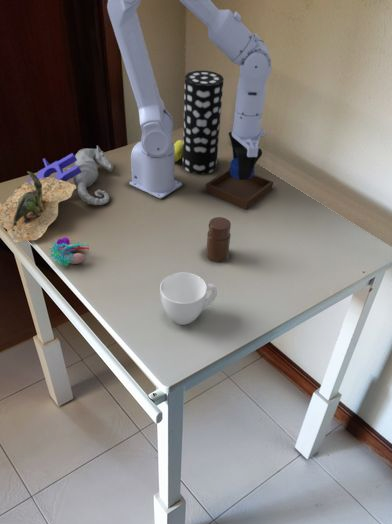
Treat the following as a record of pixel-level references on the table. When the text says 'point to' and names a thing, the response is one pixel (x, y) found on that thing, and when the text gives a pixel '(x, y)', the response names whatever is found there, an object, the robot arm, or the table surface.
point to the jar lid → (235, 169)
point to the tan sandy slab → (34, 207)
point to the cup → (185, 296)
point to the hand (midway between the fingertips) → (241, 172)
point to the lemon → (178, 150)
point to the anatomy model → (67, 248)
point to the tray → (239, 189)
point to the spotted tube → (201, 121)
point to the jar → (218, 239)
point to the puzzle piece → (59, 169)
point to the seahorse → (90, 174)
